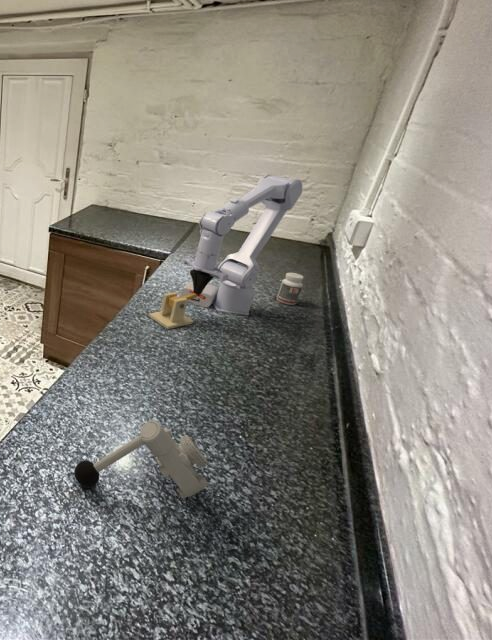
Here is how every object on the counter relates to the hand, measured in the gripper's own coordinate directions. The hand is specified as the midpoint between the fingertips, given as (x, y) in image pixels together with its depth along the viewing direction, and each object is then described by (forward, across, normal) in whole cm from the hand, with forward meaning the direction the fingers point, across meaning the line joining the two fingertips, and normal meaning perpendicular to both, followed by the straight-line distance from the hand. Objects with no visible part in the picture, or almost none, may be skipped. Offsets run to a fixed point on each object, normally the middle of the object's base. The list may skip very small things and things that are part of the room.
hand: (197, 292), depth 123 cm
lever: (+2, 0, -5) cm, 5 cm away
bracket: (+8, 0, -9) cm, 12 cm away
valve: (+8, +41, -58) cm, 72 cm away
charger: (+8, -9, +14) cm, 18 cm away
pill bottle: (+8, +4, +40) cm, 41 cm away
